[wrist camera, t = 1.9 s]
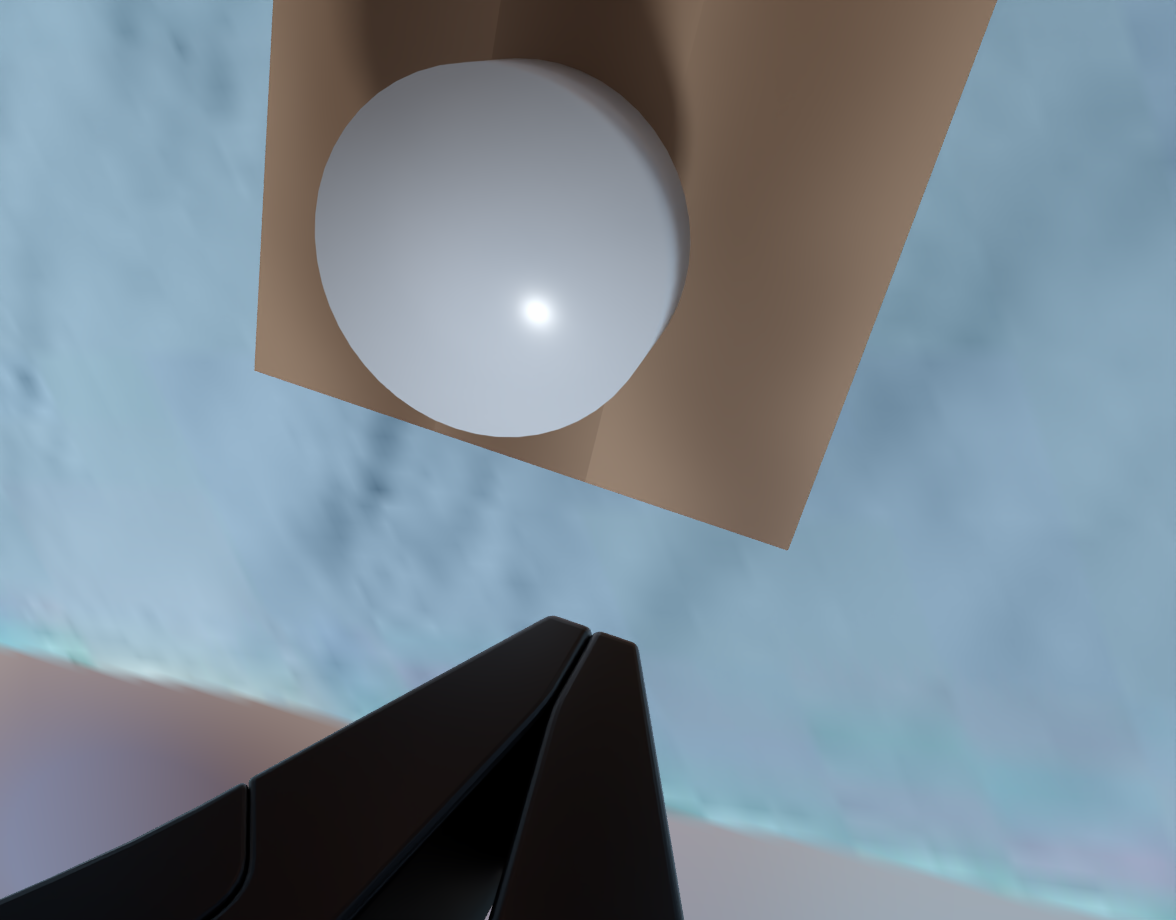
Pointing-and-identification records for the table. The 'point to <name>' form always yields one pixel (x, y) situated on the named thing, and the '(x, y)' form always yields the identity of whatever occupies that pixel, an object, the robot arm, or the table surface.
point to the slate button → (501, 242)
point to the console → (714, 202)
